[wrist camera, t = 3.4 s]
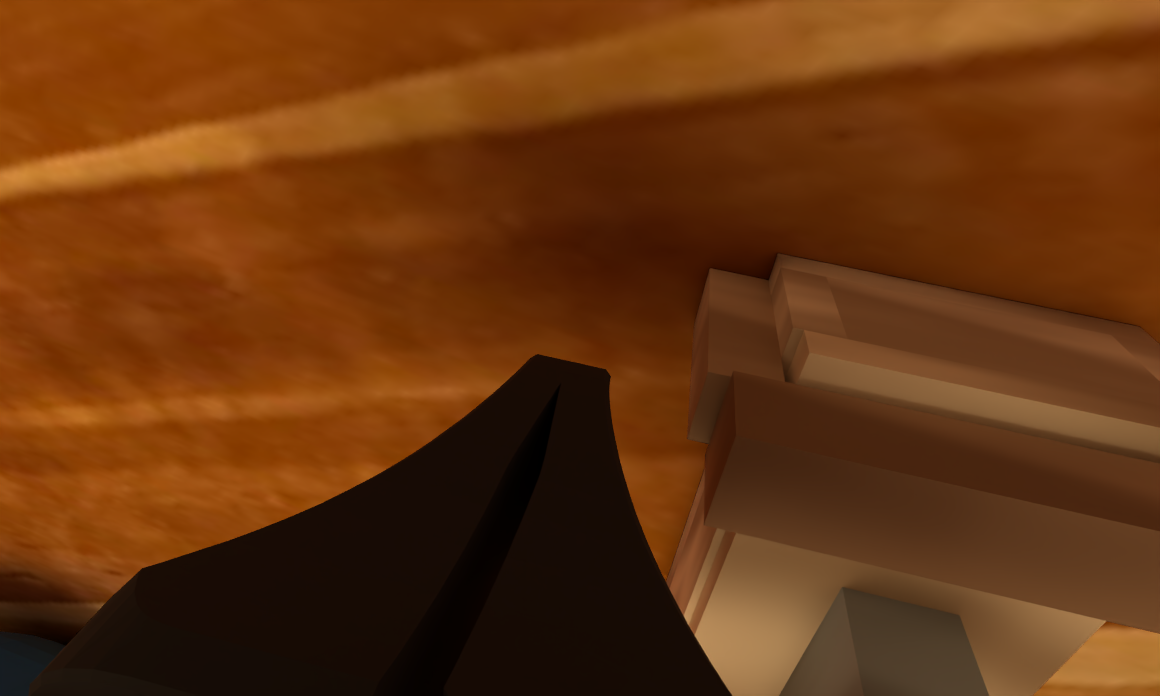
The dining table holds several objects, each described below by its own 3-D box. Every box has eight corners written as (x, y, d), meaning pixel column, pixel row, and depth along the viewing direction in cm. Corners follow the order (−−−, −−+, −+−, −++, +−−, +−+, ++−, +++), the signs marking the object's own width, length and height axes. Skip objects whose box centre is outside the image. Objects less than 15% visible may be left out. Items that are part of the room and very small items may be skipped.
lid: (935, 753, 18) (1007, 1016, 13) (665, 684, 18) (649, 913, 14) (1239, 421, 11) (1578, 723, 7) (804, 330, 12) (856, 552, 7)
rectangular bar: (1254, 581, 11) (1336, 676, 10) (705, 454, 12) (703, 525, 11) (1342, 503, 10) (1448, 596, 9) (733, 370, 11) (736, 435, 10)
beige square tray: (954, 652, 20) (1008, 810, 17) (625, 571, 21) (605, 704, 17) (1205, 340, 14) (1388, 482, 10) (717, 241, 15) (717, 338, 11)
